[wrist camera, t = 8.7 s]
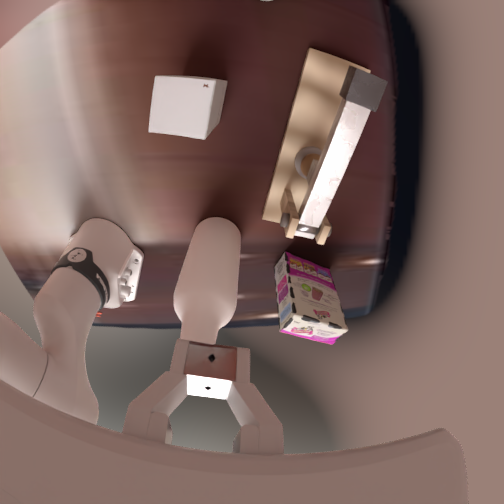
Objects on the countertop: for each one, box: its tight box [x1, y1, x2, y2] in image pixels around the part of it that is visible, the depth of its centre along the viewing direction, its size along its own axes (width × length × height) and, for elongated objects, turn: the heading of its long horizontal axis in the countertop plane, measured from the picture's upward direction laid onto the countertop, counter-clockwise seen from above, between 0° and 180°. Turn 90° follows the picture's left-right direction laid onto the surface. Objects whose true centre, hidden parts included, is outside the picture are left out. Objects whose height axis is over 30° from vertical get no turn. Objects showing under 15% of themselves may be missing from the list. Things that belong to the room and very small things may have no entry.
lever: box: [294, 65, 387, 239], centre depth 32 cm, size 24×4×5 cm, turn 168°
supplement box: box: [148, 75, 227, 140], centre depth 32 cm, size 7×7×13 cm
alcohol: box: [174, 217, 241, 344], centre depth 39 cm, size 9×9×30 cm
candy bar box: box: [274, 252, 348, 345], centre depth 49 cm, size 11×5×16 cm, turn 65°
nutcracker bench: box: [262, 48, 370, 245], centre depth 36 cm, size 30×10×12 cm, turn 167°
